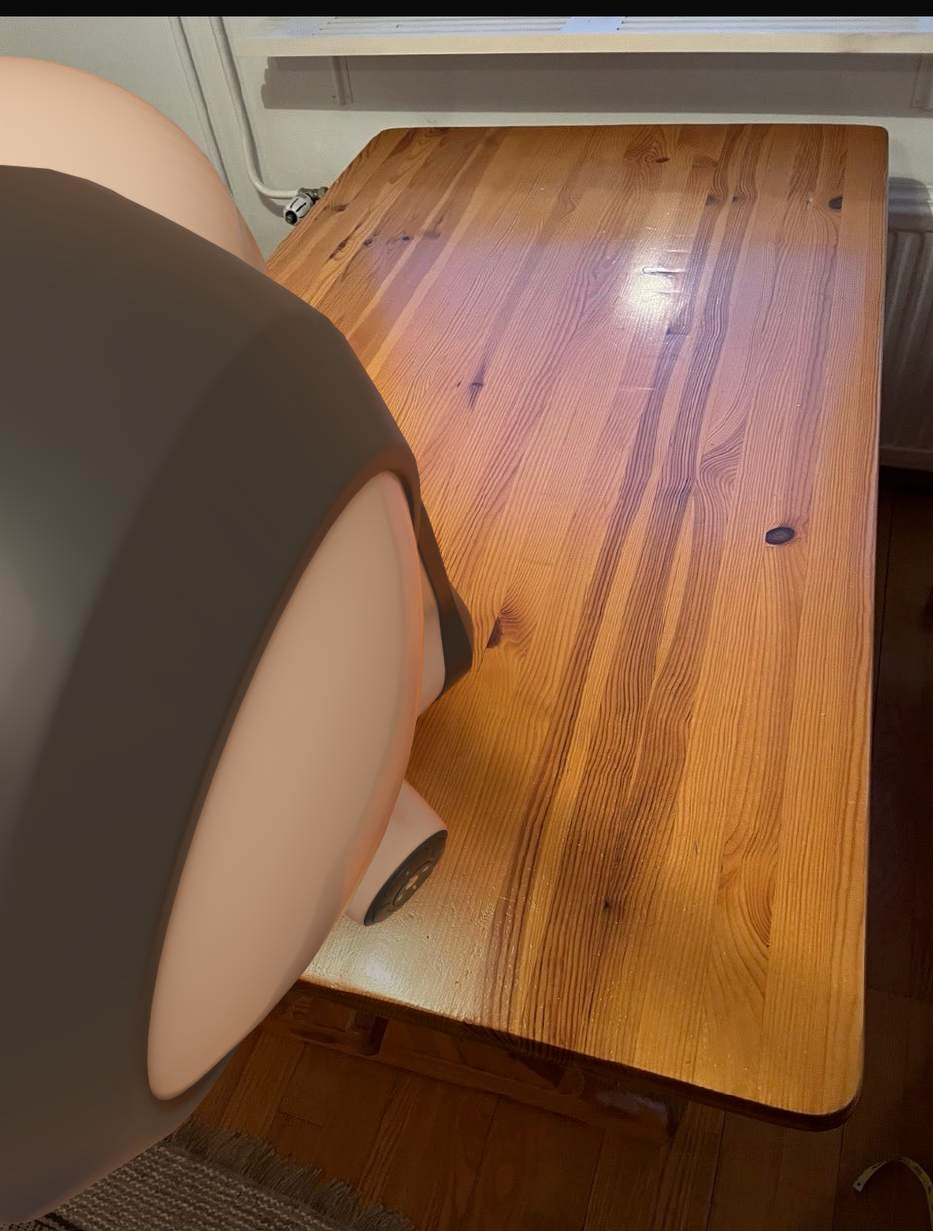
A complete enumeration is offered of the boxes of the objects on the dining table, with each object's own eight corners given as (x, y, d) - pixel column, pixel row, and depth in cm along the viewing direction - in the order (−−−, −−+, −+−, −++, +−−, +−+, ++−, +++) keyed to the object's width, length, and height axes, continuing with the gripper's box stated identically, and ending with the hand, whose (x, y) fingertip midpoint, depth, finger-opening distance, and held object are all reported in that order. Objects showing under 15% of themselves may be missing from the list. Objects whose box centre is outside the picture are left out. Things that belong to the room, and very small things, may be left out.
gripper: (351, 606, 63) (229, 519, 70) (92, 814, 54) (-18, 691, 61) (367, 663, 68) (251, 577, 74) (132, 862, 59) (25, 743, 66)
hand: (128, 629), depth 68 cm, fingers open, 8 cm apart
